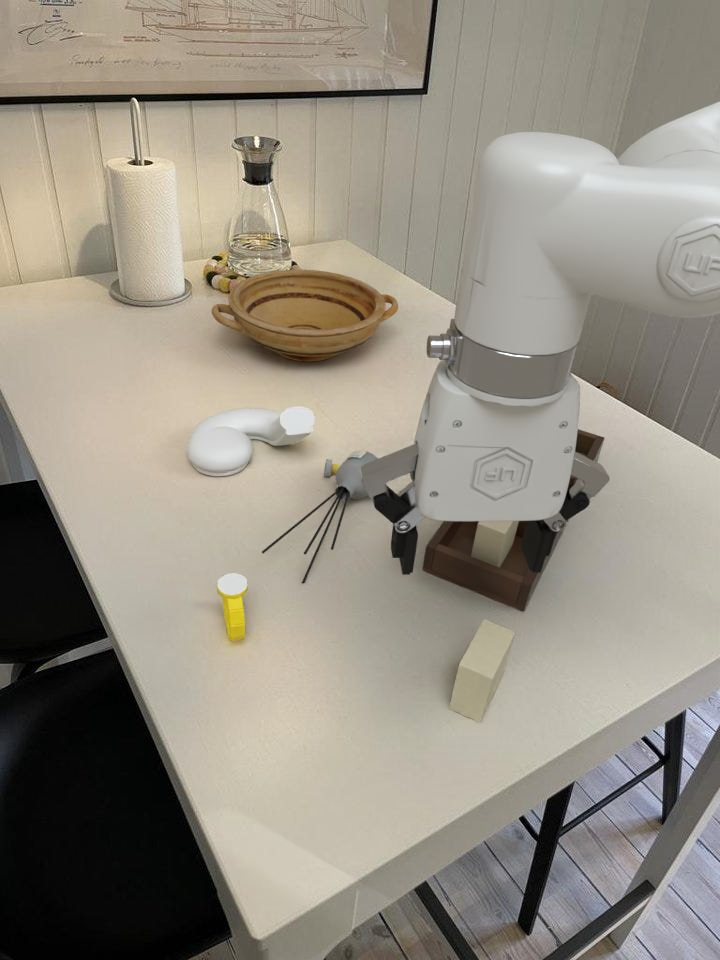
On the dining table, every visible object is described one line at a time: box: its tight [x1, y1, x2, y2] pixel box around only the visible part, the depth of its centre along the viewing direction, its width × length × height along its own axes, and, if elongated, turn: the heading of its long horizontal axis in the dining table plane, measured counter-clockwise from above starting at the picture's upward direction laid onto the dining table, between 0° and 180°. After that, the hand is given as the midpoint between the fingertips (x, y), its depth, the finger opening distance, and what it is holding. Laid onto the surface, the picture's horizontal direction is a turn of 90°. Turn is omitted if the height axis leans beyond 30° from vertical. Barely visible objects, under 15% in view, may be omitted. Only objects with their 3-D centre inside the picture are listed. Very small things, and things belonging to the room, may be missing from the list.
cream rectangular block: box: [448, 618, 516, 724], centre depth 66 cm, size 3×6×6 cm, turn 152°
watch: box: [216, 572, 249, 642], centre depth 70 cm, size 6×3×6 cm, turn 16°
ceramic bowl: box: [211, 269, 399, 362], centre depth 118 cm, size 30×24×8 cm
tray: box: [422, 428, 606, 612], centre depth 89 cm, size 11×32×4 cm, turn 152°
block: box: [471, 521, 519, 567], centre depth 80 cm, size 3×6×6 cm, turn 152°
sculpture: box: [186, 406, 316, 477], centre depth 93 cm, size 12×15×8 cm
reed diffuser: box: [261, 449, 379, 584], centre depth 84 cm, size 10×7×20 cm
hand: (467, 561), depth 56 cm, fingers open, 9 cm apart
